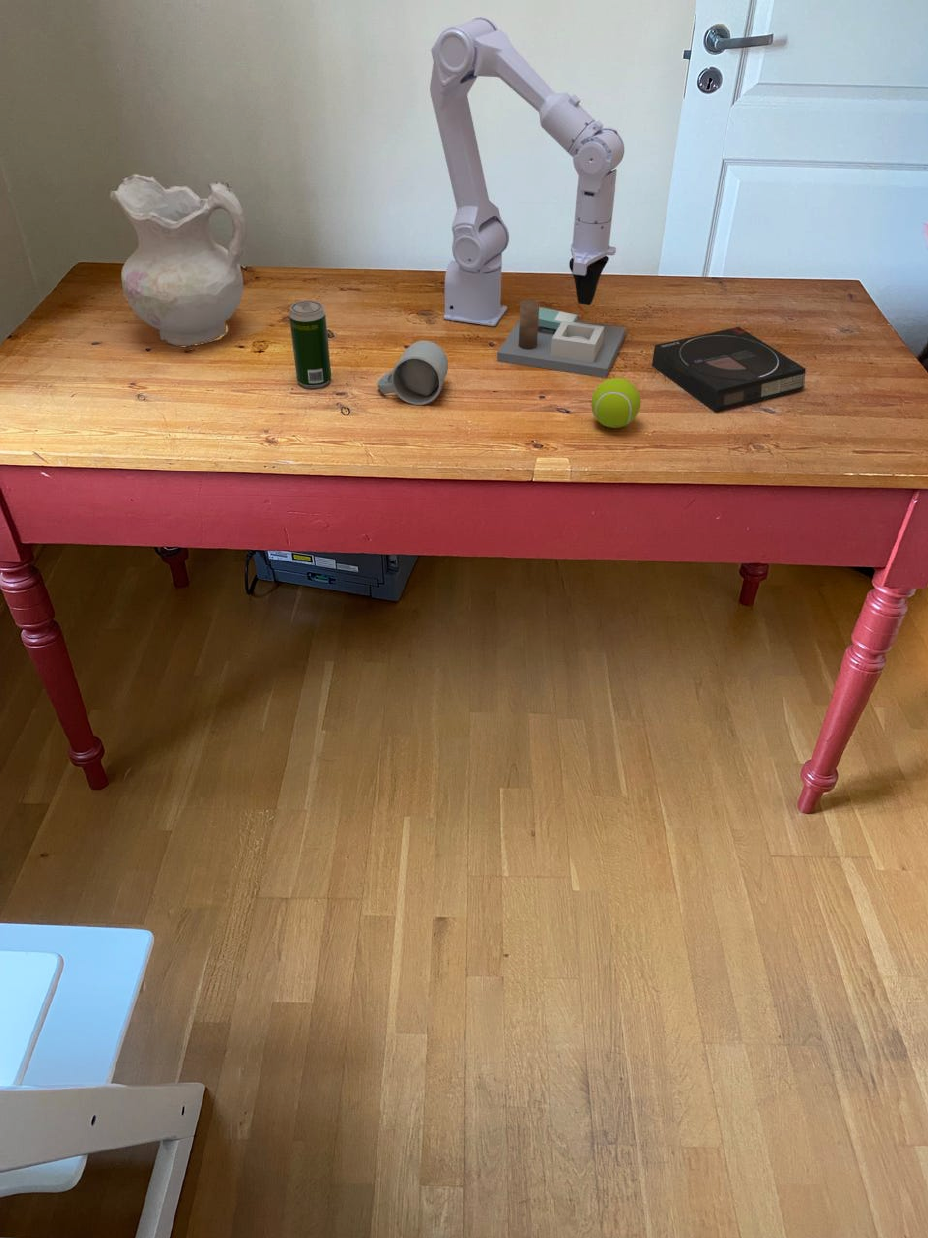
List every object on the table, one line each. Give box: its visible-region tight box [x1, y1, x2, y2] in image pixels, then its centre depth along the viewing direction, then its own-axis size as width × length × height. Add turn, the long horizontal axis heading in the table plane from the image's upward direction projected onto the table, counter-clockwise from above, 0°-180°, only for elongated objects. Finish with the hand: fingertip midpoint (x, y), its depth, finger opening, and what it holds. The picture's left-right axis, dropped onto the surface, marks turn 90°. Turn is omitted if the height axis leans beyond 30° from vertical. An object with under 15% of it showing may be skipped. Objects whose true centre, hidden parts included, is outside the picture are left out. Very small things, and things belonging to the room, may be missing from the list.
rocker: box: [538, 306, 579, 330], centre depth 157 cm, size 8×4×1 cm, turn 72°
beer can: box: [288, 300, 332, 390], centre depth 142 cm, size 5×5×12 cm
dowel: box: [519, 299, 540, 350], centre depth 151 cm, size 3×3×7 cm
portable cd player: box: [651, 326, 807, 413], centre depth 147 cm, size 16×17×4 cm
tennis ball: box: [590, 377, 642, 429], centre depth 135 cm, size 7×7×7 cm
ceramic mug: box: [376, 340, 449, 406], centre depth 142 cm, size 11×8×8 cm
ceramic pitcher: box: [109, 173, 247, 347], centre depth 152 cm, size 22×20×25 cm
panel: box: [496, 318, 627, 379], centre depth 154 cm, size 18×16×4 cm
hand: (585, 302), depth 154 cm, fingers closed
